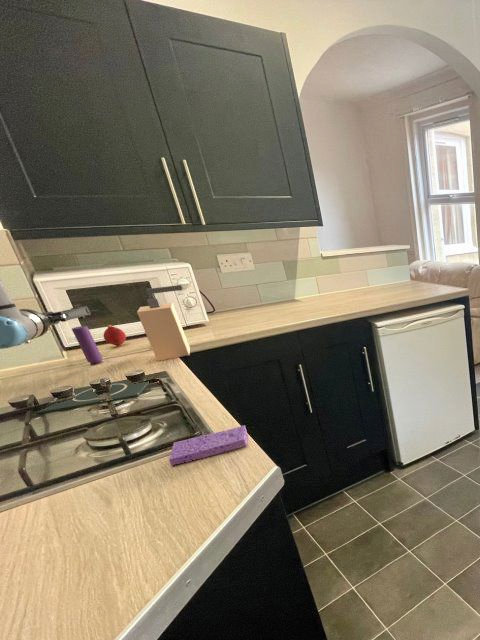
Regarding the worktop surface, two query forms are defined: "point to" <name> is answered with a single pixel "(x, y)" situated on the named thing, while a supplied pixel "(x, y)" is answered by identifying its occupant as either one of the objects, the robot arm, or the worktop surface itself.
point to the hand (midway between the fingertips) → (51, 316)
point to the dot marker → (87, 344)
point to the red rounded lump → (114, 335)
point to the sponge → (208, 445)
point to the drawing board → (90, 398)
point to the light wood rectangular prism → (163, 326)
